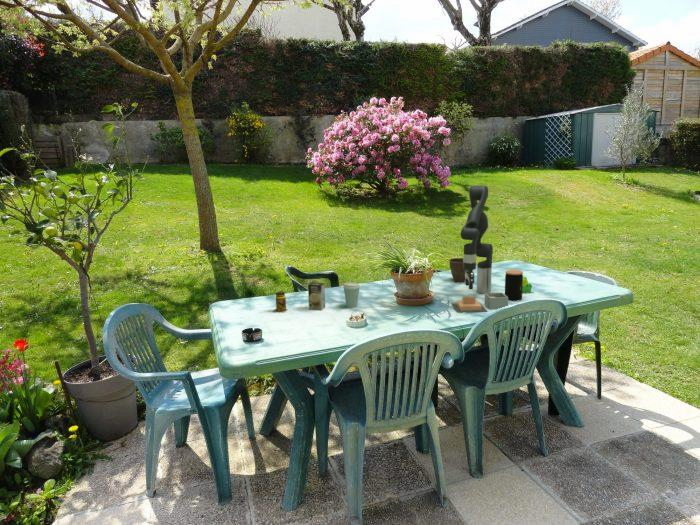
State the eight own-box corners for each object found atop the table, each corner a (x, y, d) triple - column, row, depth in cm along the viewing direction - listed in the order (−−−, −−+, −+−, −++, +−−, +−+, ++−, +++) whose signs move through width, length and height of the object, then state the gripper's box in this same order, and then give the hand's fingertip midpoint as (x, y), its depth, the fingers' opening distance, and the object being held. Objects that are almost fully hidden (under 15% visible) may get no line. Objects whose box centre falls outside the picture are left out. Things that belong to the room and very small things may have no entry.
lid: (456, 304, 312) (456, 294, 310) (476, 303, 311) (476, 293, 310) (460, 310, 299) (460, 300, 298) (481, 309, 299) (481, 299, 298)
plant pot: (471, 283, 359) (472, 262, 356) (451, 284, 360) (451, 262, 356) (467, 278, 374) (467, 257, 371) (447, 279, 374) (447, 258, 371)
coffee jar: (523, 301, 314) (524, 273, 310) (505, 301, 316) (506, 273, 312) (520, 296, 324) (522, 269, 320) (503, 296, 326) (504, 269, 322)
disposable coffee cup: (352, 302, 324) (351, 280, 321) (364, 305, 316) (363, 282, 313) (340, 306, 316) (339, 283, 313) (352, 309, 309) (351, 286, 306)
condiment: (284, 312, 308) (282, 294, 305) (271, 312, 310) (270, 293, 308) (288, 309, 315) (287, 290, 312) (276, 308, 317) (275, 290, 315)
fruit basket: (529, 290, 338) (530, 274, 336) (532, 294, 330) (533, 277, 327) (512, 290, 339) (512, 274, 337) (515, 294, 331) (515, 277, 328)
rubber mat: (451, 303, 314) (451, 303, 314) (479, 302, 314) (479, 302, 314) (457, 312, 297) (457, 312, 296) (487, 311, 297) (487, 311, 296)
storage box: (484, 303, 312) (485, 293, 310) (502, 303, 312) (502, 292, 310) (489, 309, 301) (489, 298, 299) (507, 308, 301) (508, 297, 299)
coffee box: (308, 309, 313) (307, 284, 310) (312, 306, 319) (311, 281, 315) (322, 310, 310) (320, 285, 307) (325, 307, 316) (324, 282, 312)
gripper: (460, 258, 306) (460, 284, 310) (466, 264, 292) (465, 290, 296) (472, 258, 306) (472, 283, 310) (478, 263, 292) (478, 290, 296)
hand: (469, 287), depth 303 cm, fingers open, 8 cm apart
